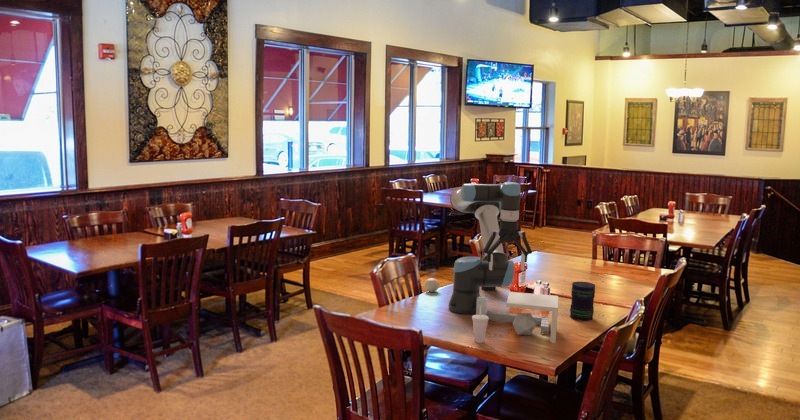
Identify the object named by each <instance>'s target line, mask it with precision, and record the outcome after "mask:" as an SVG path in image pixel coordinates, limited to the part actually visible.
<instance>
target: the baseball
mask: <svg viewBox="0 0 800 420" xmlns="http://www.w3.org/2000/svg"><path fill="white" fill-rule="evenodd" d="M424 281H425V282H424V285H423V286H424V289H425V291H427V292H429V291H430V292H429V293H434V292H436V291H437V290H439V286H440V282H439V281H438V280H437V279H436V278H433V277H431V278H427V279H426V280H424Z"/></svg>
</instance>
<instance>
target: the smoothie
mask: <svg viewBox="0 0 800 420" xmlns="http://www.w3.org/2000/svg"><path fill="white" fill-rule="evenodd" d="M471 320H472V328H473V340H474V342H475V343H477V344H482V343H485V338H486V333H487V327H488V322H489V321H490V320H489V317H488V316H486V315H481V305H480V315H476V314H472V316H471Z"/></svg>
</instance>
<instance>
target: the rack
mask: <svg viewBox="0 0 800 420" xmlns="http://www.w3.org/2000/svg"><path fill="white" fill-rule="evenodd" d="M505 308H515V309H524V310H525V309H526V310H534V311H537V310H538V311H545V312H546V311H547V312H551V326H550V338H549V339H550V340H549V341H550V342H552V343H551V344H557V343H556V342H557V328H558V327H557V325H558V310H559V309H558V308H559V296H558V295H553V294H552V295H551V294H540V293H530V292H529V293H528V292H516V291H509V293H508V297H507V300H506V304H505ZM550 342H549V343H550Z"/></svg>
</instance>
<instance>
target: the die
mask: <svg viewBox="0 0 800 420" xmlns="http://www.w3.org/2000/svg"><path fill="white" fill-rule="evenodd" d="M516 314H517V315H516V317H515V320H514V322H512V326H513V328H514V330H515V332H516V335H518V336H520V335H521V336H523V335H524V336H531V335H532V334H533V332H534V330H535V328H536V326H537V325H536V322H535V320H534V319H533V317H532V313H529V312H517V313H516Z"/></svg>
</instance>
